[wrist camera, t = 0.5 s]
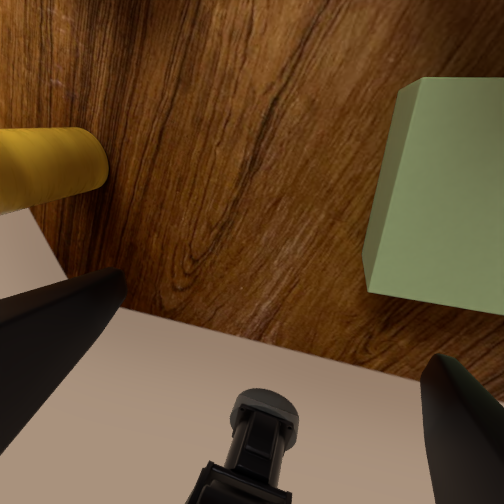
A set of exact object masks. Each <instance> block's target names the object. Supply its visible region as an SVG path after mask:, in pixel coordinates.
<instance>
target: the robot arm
mask: <svg viewBox="0 0 504 504" xmlns="http://www.w3.org/2000/svg"><path fill="white" fill-rule="evenodd" d="M127 292H128V289H127V284H126V278H125V273H124V271H123V270H121V269H118V268H114V267H108V268H104V269H101V270H98V271H94V272H91V273H88V274H84V275H81V276H78V277H74V278H71V279H67V280H64V281H61V282H57V283H54V284H51V285H47V286H44V287H40V288H37V289H34V290H30V291H27V292H24V293H20V294H17V295H14V296H10V297H7V298H3V299H0V455H1V454H2V453H3V452H4V450H5V449H6V448H7V447H8V446H9V444H10V443H11V442H12V441H13V440H14V438H15V437H16V436H17V435H18V434H19V432H20V431H21V430H22V429H23V427H24V426H25V425H26V424H27V423H28V422H29V420H30V419H31V418H32V417H33V416H34V414H35V413H36V412H37V411H38V410H39V408H40V407H41V406H42V405H43V403H44V402H45V401H46V400H47V399H48V397H49V396H50V395H51V394H52V393H53V392H54V390H55V389H56V388H57V387H58V386H59V384H60V383H61V382H62V381H63V379H64V378H65V377H66V376H67V375H68V374H69V372H70V371H71V370H72V369H73V368H74V366H75V365H76V364H77V363H78V362H79V360H80V359H81V358H82V357H83V356H84V354H85V353H86V352H87V351H88V350H89V348H90V347H91V346H92V345H93V343H94V342H95V341H96V339H97V338H98V337H99V336H100V334H101V333H102V332H103V330H104V329H105V327H106V326H107V324H108V323H109V321H110V320H111V319H112V317H113V316H114V314H115V313H116V311H117V310H118V308H119V307H120V305H121V304H122V302H123V301H124V300H125V298H126V296H127ZM420 386H421V400H422V414H423V427H424V439H425V447H426V454H427V459H428V465H429V470H430V475H431V481H432V486H433V492H434V497H435V503H436V504H504V407H503V406H502V405H501V404H500V403H499V402H498V401H497V400H496V399H495V398H494V397H493V396H492V395H491V394H490V393H489V392H488V391H487V390H486V389H485V388H484V387H483V386H482V385H481V384H480V383H479V382H478V381H477V380H476V379H475V378H474V377H473V376H472V375H471V374H470V373H469V372H468V371H467V370H466V369H465V368H464V367H463V365H462V364H461V363H460V362H459V361H458V360H456V359H455V358H453V357H450V356H447V355H443V354H439V353H438V354H434V355H433V356H432V358H431V359H430V361H429V363H428V364H427V366H426V367H425V369H424V371H423V372H422V375H421V379H420ZM294 426H295V425H294V423H292V422H290V421H288V420H285V419H282V418H280V417H277V416H275V415H272V414H269V413H267V412H264V411H262V410H259V409H257V408H254V407H251V406H249V405H246V404H243V403H241V404H240V405H239V408H238V412H237V417H236V421H235V425H234V429H233V433H232V437H233V441H232V444H231V447H230V450H229V453H228V456H227V459H226V462H225V465H224V467H222V466H219V465H217V464H214V462H212V461H209V462H208V464H207V466H206V467H205V468H202V471H201V473H200V476H199V478H198V481H197V483H196V485H195V487H194V489H193V491H192V492H191V494H190V496H189V497H188V499H187V501H186V503H185V504H291V502H292V493H291V492H288V491H287V492H285V491H283V490H280V489H278V488H277V486H278V480H279V475H280V469H281V463H282V457H283V456H284V453H285V451H286V448H287V446H288V443H289V441H290V438H291V436H292V433H293V431H294Z"/></svg>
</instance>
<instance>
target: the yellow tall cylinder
mask: <svg viewBox="0 0 504 504" xmlns="http://www.w3.org/2000/svg"><path fill="white" fill-rule="evenodd" d="M108 171H109V166H108V160H107V156H106V153H105V151H104V149H103V147H102V145H101V144H100V142H99V141H98V140H97V139H96V138H95V137H94V136H93V135H92V134H91V133H89V132H88V131H86V130H84V129H81V128H77V127H69V128H22V129H0V215H3V214H7V213H11V212H14V211H18V210H21V209H25V208H29V207H32V206H36V205H40V204H43V203H47V202H51V201H54V200H58V199H62V198H65V197H69V196H72V195H76V194H80V193H83V192H87V191H91V190H94V189H98V188H99V187H101V186H102V185H103V184H104V183H105V181H106V179H107V177H108Z"/></svg>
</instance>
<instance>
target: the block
mask: <svg viewBox="0 0 504 504" xmlns="http://www.w3.org/2000/svg"><path fill="white" fill-rule="evenodd" d="M362 259H363V265H364V272H365V278H366V284H367V290H368V292H370V293H376V294H382V295H388V296H394V297H399V298H405V299H411V300H417V301H423V302H429V303H434V304H440V305H446V306H452V307H458V308H463V309H469V310H475V311H481V312H487V313H493V314H498V315H504V77H423V78H421V79H419V80H417V81H415V82H413V83H411V84H410V85H408V86H406V87H404V88H402V89H400V90H399V91H398V95H397V100H396V104H395V108H394V113H393V117H392V122H391V126H390V131H389V135H388V139H387V144H386V148H385V153H384V157H383V162H382V166H381V171H380V175H379V179H378V184H377V188H376V193H375V197H374V202H373V206H372V210H371V215H370V219H369V224H368V228H367V233H366V237H365V241H364V246H363V250H362Z"/></svg>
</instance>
